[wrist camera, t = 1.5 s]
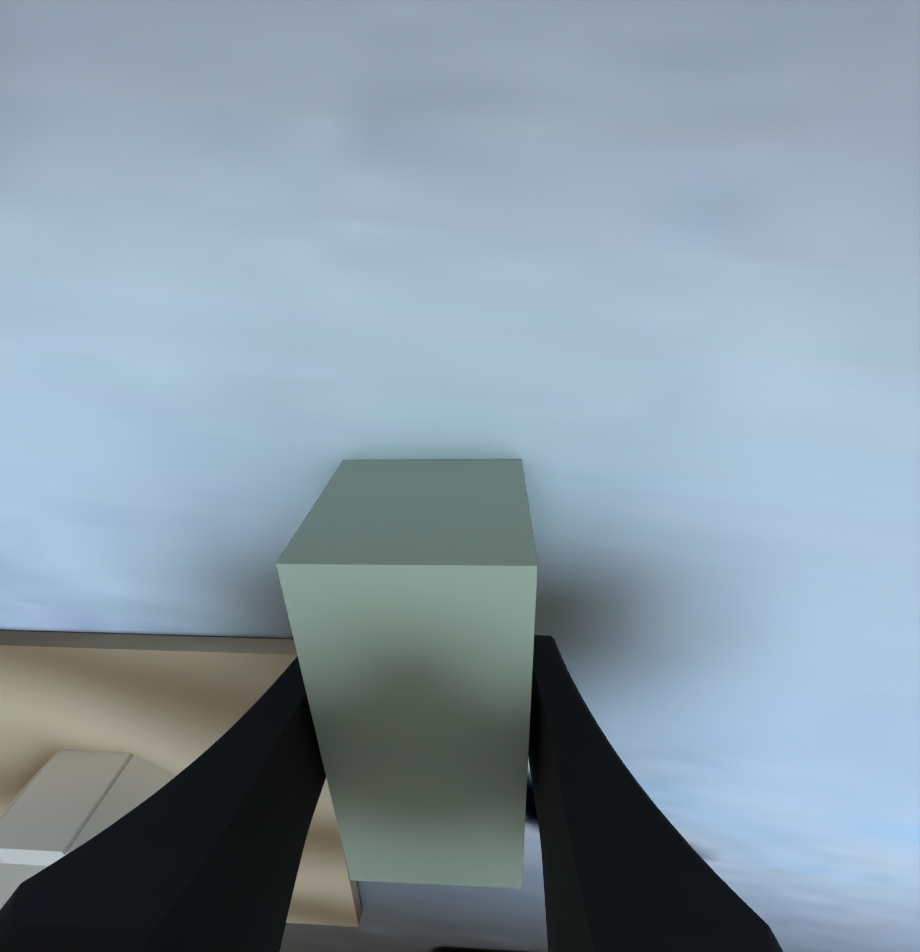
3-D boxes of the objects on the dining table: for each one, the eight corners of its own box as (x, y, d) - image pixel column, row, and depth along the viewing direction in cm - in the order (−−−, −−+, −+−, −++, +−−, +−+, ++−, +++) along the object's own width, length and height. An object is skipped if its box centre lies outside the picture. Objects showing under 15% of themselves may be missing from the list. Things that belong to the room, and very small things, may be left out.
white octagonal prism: (227, 860, 19) (185, 959, 17) (72, 851, 20) (6, 948, 17) (185, 755, 17) (127, 855, 14) (6, 747, 17) (-85, 844, 14)
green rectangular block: (513, 728, 16) (521, 888, 12) (384, 724, 17) (351, 880, 13) (521, 455, 12) (537, 566, 8) (345, 456, 12) (276, 563, 8)
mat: (362, 910, 22) (358, 927, 21) (20, 889, 23) (8, 905, 22) (310, 639, 15) (303, 654, 14) (-183, 624, 16) (-207, 638, 15)
